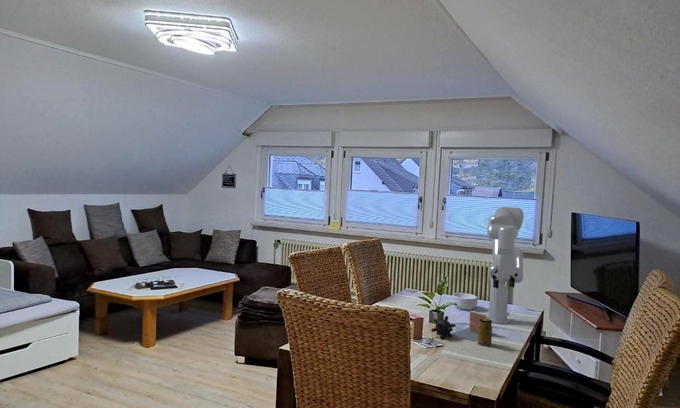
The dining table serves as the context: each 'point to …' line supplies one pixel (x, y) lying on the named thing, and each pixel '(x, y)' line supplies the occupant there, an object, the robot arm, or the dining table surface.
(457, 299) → the paper bowls
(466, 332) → the rubber mat
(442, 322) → the toy ball
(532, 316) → the dining table surface
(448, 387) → the dining table surface
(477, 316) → the birch tile
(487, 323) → the condiment
